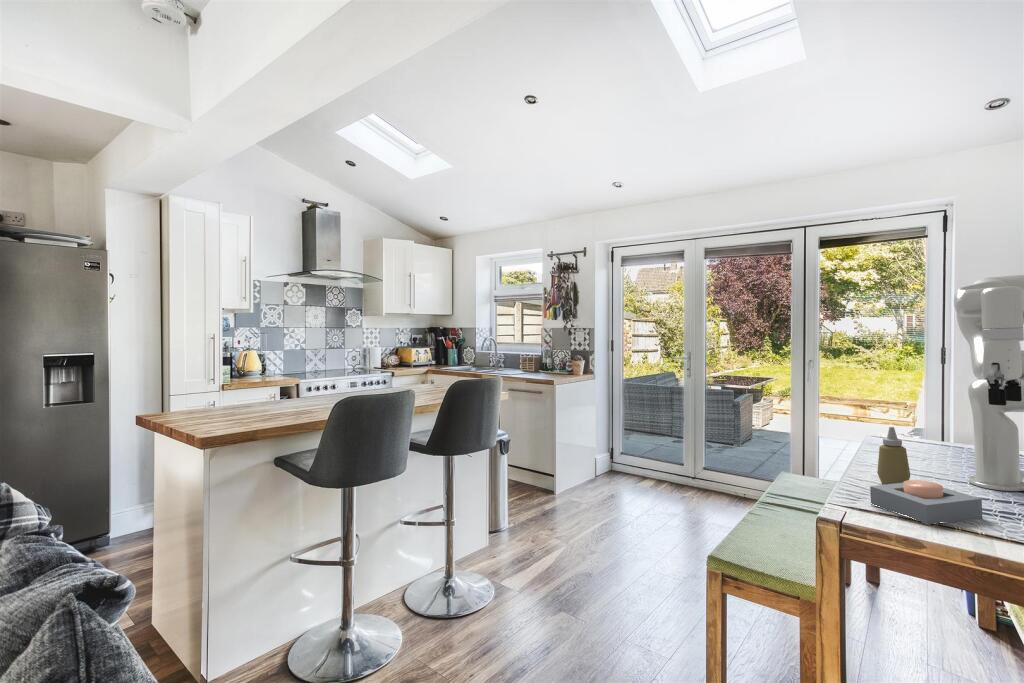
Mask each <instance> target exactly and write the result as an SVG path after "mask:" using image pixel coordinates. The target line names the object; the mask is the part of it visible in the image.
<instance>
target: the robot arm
mask: <svg viewBox="0 0 1024 683" xmlns="http://www.w3.org/2000/svg"><path fill="white" fill-rule="evenodd" d="M953 305H954V306H953V307H954V309H955V312H956V321H957V324H958V329H959V331H960V332H961V335H962V336H963V337H964V339H965V340H966V341H967V343H968V346H969V351H970V361H971V362H970V363H971V368H972V373H973V375H974V377H975V378H977V380H974V381H972V382H971V383H969V385H968V389H967V391H968V392H967V394H968V399H969V403H970V407H971V412H972V413H971V414H972V424H973V441H974V442H973V443H974V467H975V468H974V469H975V470H974V471H975V472H974V474H975V475H972V476H970V477H968V482H969V483H970V484H972V485H974V486H976V487H980V488H984V489H989V490H995V491H1005V492H1023V491H1024V481H1023V479H1024V470H1021V466H1020V464H1021V463H1020V439H1019V438H1020V437H1019V428H1018V426H1017V424H1016V423H1015V421H1014V420H1013V419H1011V418H1010V417H1009V416H1008V415H1006V413H1024V350H1023V349H1021V348H1022V347H1021V342H1023V341H1024V274H1016V275H1014V274H1013V275H1003V276H992V277H991V276H990V277H984V278H981V279H978V280H976V281H975V282H974V283H972V284H971V285H966V286H962V287H958V289H957V290H955V293H954V297H953Z"/></svg>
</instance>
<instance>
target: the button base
mask: <svg viewBox="0 0 1024 683" xmlns="http://www.w3.org/2000/svg"><path fill="white" fill-rule="evenodd" d="M869 489H870V490H869V491H870V504H871V503H872V504H874V505H877V506H880V507H882V508H885V509H887V510H886V511H888V510H890V511H894V512H897V513H900V514H903V515H907V516H909V517H912V518H914V519H916V520H919V521H921V522H922V523H925V524H927V525H926V526H930V525H929V524H934V523H940V522H951V523H957V522H956V521H959V522H966V521H965V520H967V521H973V520H981V519H983V501H982V500H983V499H982V498H981V497H977V496H974V495H971V494H967V493H964V492H961V491H956V490H953V489H950V488H946V487H943V497H940V498H931V499H923V498H920V497H917V496H914V495H911V494H907V493H904V484H903V483H895V484H886V485H882V484H878V485H870V487H869ZM872 504H871V505H872ZM874 505H873V506H874ZM877 506H876V507H877ZM880 507H879V508H880ZM882 508H881V509H882ZM885 509H884V510H885ZM890 511H889V512H890ZM922 523H921V524H922ZM925 524H924V525H925Z"/></svg>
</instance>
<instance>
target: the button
mask: <svg viewBox="0 0 1024 683" xmlns="http://www.w3.org/2000/svg"><path fill="white" fill-rule="evenodd" d="M903 484H904V493H907V494H911V495H914V496H917V497H920V498H923V499H931V498H940V497H943V488H944V486H943V485H942V484H940V483H937V482H933V481H927V480H918V479H917V480H916V479H909V480H907V481H904V482H903Z"/></svg>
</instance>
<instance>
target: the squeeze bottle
mask: <svg viewBox="0 0 1024 683" xmlns="http://www.w3.org/2000/svg"><path fill="white" fill-rule="evenodd" d="M878 449H879V450H878V460H877V475H878V478H879V481H880V483H881V485H886V484H895V483H903V482H904V481H907V480H911V471H910V464H909V459H908V452H907V448H906V447H904V446H903V439H901V438H899V437H898V436H897V433H896V430H895V427H893V426H889V427H888V431H887V436H886V437H883V438H882V444H881V445H879V448H878Z"/></svg>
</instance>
